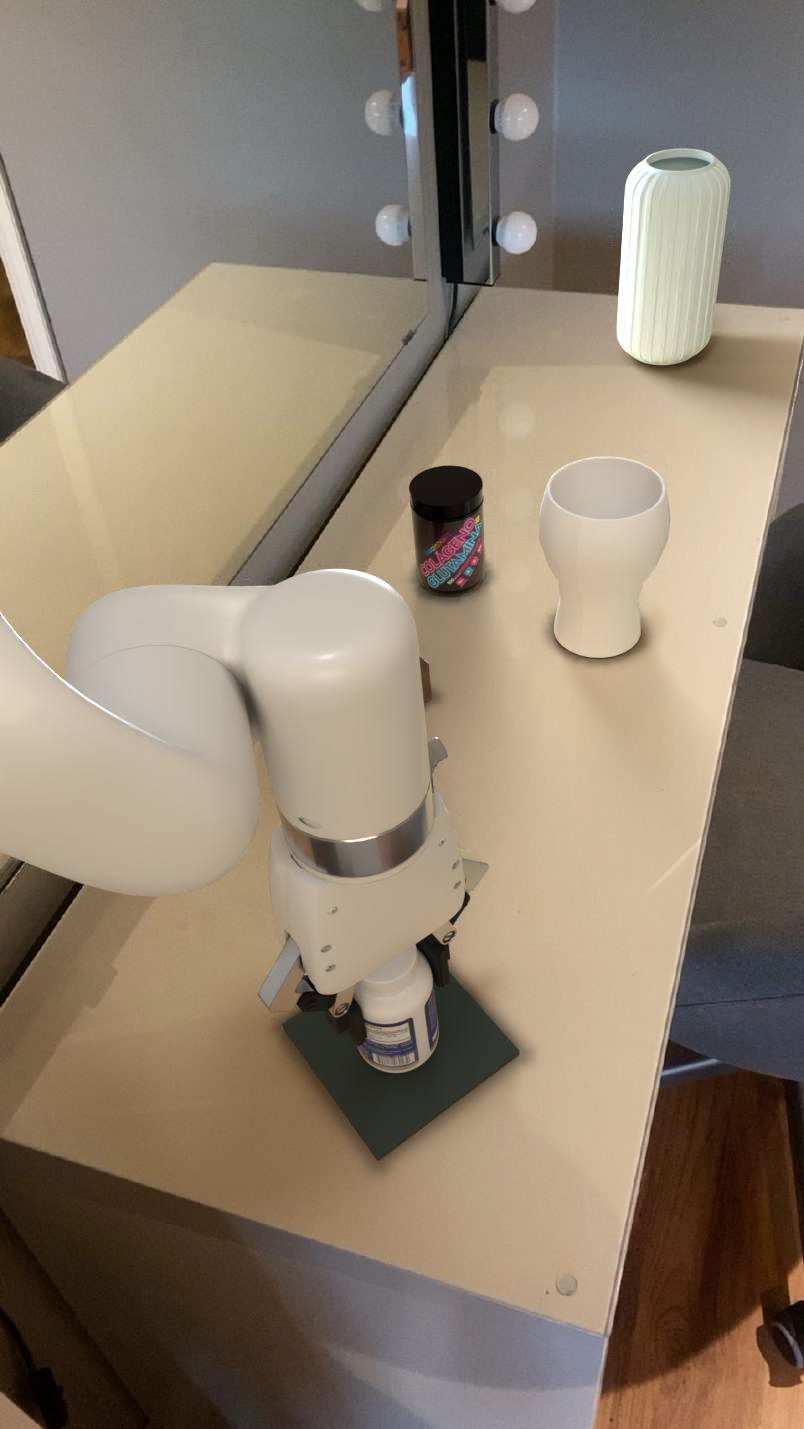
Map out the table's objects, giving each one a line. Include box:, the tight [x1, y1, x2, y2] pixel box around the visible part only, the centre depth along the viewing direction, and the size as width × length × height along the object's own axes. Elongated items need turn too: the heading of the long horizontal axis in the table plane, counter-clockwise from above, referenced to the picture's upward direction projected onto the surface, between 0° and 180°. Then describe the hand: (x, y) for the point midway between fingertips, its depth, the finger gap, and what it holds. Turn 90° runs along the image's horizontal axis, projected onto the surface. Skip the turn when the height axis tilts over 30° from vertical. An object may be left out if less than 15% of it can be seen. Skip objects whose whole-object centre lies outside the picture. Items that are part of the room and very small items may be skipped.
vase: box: [616, 147, 732, 366], centre depth 124 cm, size 12×12×22 cm
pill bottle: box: [353, 944, 439, 1073], centre depth 64 cm, size 5×5×10 cm
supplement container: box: [408, 464, 487, 597], centre depth 98 cm, size 7×7×10 cm
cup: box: [538, 455, 671, 659], centre depth 89 cm, size 11×11×15 cm
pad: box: [281, 971, 520, 1161], centre depth 67 cm, size 11×11×1 cm
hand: (390, 996), depth 64 cm, fingers closed on pill bottle, 5 cm apart
